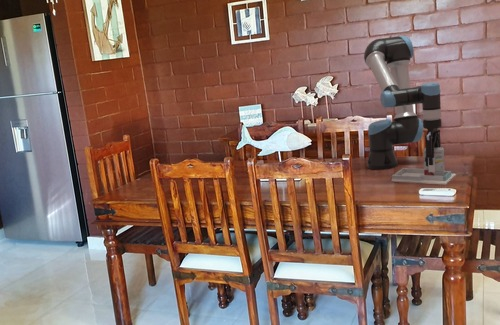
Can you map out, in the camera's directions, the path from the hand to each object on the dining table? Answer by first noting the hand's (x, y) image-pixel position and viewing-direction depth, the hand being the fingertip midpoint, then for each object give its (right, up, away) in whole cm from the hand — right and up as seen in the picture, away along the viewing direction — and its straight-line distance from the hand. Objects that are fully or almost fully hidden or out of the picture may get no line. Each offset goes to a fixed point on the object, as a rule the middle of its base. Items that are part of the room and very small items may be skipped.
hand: (434, 169), depth 226 cm
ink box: (0, -2, +1) cm, 2 cm away
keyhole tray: (-3, -4, +4) cm, 6 cm away
